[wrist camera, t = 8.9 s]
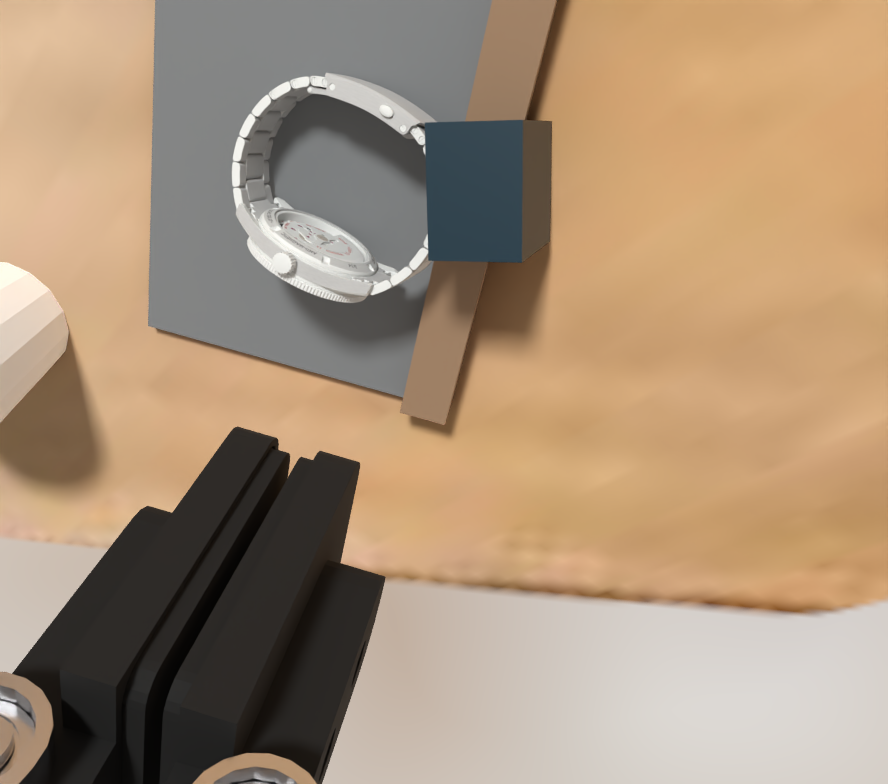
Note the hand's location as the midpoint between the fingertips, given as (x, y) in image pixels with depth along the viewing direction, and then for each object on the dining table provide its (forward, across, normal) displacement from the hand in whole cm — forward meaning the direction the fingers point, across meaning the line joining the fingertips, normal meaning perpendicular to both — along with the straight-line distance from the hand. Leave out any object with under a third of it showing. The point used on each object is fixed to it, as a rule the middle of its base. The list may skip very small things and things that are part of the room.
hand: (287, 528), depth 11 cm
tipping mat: (+23, +6, +1) cm, 24 cm away
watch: (+20, -2, +1) cm, 20 cm away
